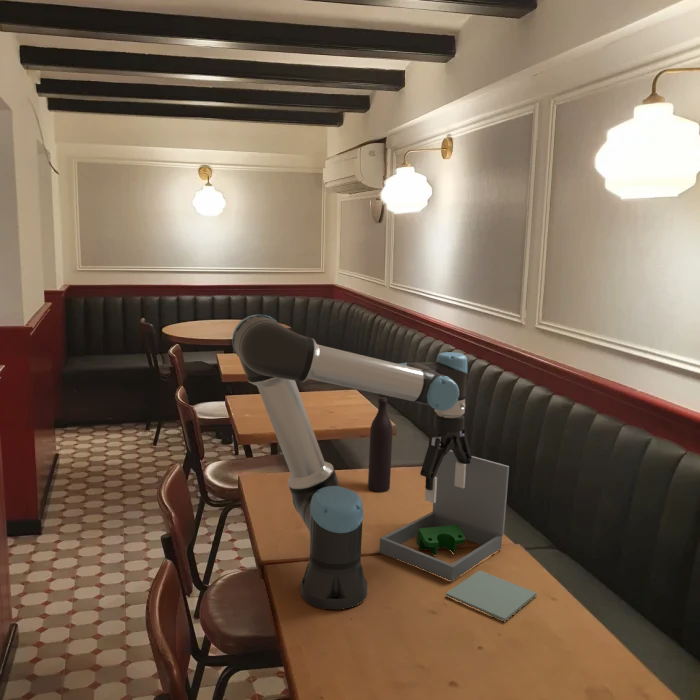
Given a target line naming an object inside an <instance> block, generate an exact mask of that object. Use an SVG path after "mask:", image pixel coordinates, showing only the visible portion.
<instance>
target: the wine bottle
mask: <svg viewBox="0 0 700 700" xmlns="http://www.w3.org/2000/svg"><path fill="white" fill-rule="evenodd" d="M377 403H378V409H377V413H376V415H375V417H374V418H373V420H372V422H371V425H370V432H369V454H368V455H369V456H368V474H367V475H368V477H367V478H368V480H367V488H368V490H370V491H372V492H375V491H376V492H377V493H385V492H388V491H389V490H390V488H391V468H392V452H393V451H392V448H393V425H392V421H391V420H390V417H389V415H388V413H387V412H388V411H387V404H388V398H387V397H385V396H381V397H379V398H378V400H377ZM376 492H375V493H376Z"/></svg>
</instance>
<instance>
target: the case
mask: <svg viewBox="0 0 700 700" xmlns="http://www.w3.org/2000/svg"><path fill="white" fill-rule="evenodd" d="M439 449H440V447H439ZM469 460H470V464H467V463H466V474H465V488H460V487H457V486H454V484H455V466H456V462H459V461H458V460H457V458H456V456H455V454H454V452H453V450H452V449H451V450H450V451H448V453H447V454H446V455H444V457H443V460H442V462H441V464H440V466H439V469H438V471H437V473H436V475H435V477H437V488H436V502H435V503H432V511H431V512H428V513H427V514H425V515H423V516H420V517H419V518H417V519H415V520H413V521H412V522H409V523H407V524H405V525H404V526H401V527H400V528H397V529H395V530H393V531H391V532H390V533H387V534H386V535H383V536H382V537H380V538H379V552H378V553H380V554H381V555H384V556H386V555H387V556H386V557H389V556H391V557H394V558H396V559H399V560H401V561H404V562H406V563H409V564H411V565H414V566H417V567H419V568H421V569H424V570H426V571H428V572H431V573H434V574H436V575H438V576H441V577H443V578H446V579H448V580H451V581H453V580H454V579H456V578H457V577H459V576H460V575H461V574H463V573H464V572H466V571H467V570H469V569H470V568H472V567H473V566H474V565H476V564H478V563H479V562H480V561H482V560H483V559H485V558H486V557H488V556H489V555H491V554H493V553H494V552H496V551H498V550H499V549H501V550H502V547H503V546H502V543H503V537H504V535H505V523H506V513H507V512H506V510H507V499H508V498H507V497H508V487H509V486H508V484H509V473H510V466H509V465H506V464H503V463H500V462H495V461H492V460H488V459H485V458H480V457H477V456H475V455H472V458H471V459H469ZM451 525H458V526H459V528H460V529H461V531H462V532H463V534H464V535H465V540H467V541H470V542H473V543H475V544H478V545H479V547H477V548H475V549H474V550H472V551H471V552H469V553H467V554H466V555H464V556H463V557H461V558H459V559H458V560H456V561H455V562H453V563H449V562H446V561H444V560H441V559H438V558H436V557H434V556H431V555H429V554H426V553H423V552H421V551H419V550H417V549H414V548H411V547H409V546H406V545H404V543H406V542H408V541H410V540H411V539H414V538H415V537H417V535H418V530H419V528H429V527H440V526H451ZM391 557H390V558H391ZM396 559H395V560H396ZM401 561H400V562H401Z"/></svg>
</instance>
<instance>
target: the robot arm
mask: <svg viewBox="0 0 700 700" xmlns="http://www.w3.org/2000/svg"><path fill="white" fill-rule="evenodd" d="M231 340H232V342H231V343H232V345H231V346H232V348H233V351H234V353H235V354H236V355H237V357H238V358H239V361H240V364H241V366H242V369H243V372H244V373H245V376H246V378H247V382H248V383H250V384H252V385H253V386H256V387H257V389H258V392H259V395H260V397H261V400H262V402H263V405H264V407H265V410H266V412H267V416H268V418H269V421H270V423H271V426H272V429H273V431H274V435H275V436H276V439H277V441H278V444H279V447H280V449H281V452H282V454H283V457H284V460H285V462H286V465H287V468H288V470H289V473H290V476H289V477H288V479H287V486H288V488H289V491H290V493H291V498H292V504H293V507H294V509H295V511H296V512H297V513H298V514H299V516H300V518H301V519H302V521H303V523H304V524H305V527H306V528H307V529H308V532H309V559H308V563H307V565H306V568H305V572H304V574H303V577H302V578H301V583H300V595H301V597H302V598H303V600H304V601H305V602H306V603H307V604H309V605H310V604H311V605H310V606H312V605H313V606H312V607H315V608H318V607H319V609H321V608H324V609H323V610H326V609H343V608H349V607H352V606H355V605H357V604H358V603H360V602H362V601H363V600H364V599H365V598H366V599H367V597H366V596H368V582H367V579H366V577H365V575H364V570H363V565H362V562H361V561H362V560H361V559H362V541H363V540H362V538H363V520H364V508H363V500H362V498H361V496H360V495H359V494H358V493H357V492H356V491H354V490H352V489H348V488H347V487H344V486H341V485H340V482H339V478H338V476H337V473H336V471H335V468H334V465H333V464H331V463H330V462H327V461H325V459H324V457H323V454H322V451H321V448H320V445H319V443H318V440H317V437H316V434H315V431H314V429H313V426H312V423H311V421H310V418H309V416H308V412H307V410H306V406H305V405H304V402H303V398H302V396H301V393H300V391H299V388H298V386H297V385H298V384H297V382H300V383H305V382H307V381H308V380H314V381H317V382H322V383H327V384H332V385H336V386H340V387H346V388H351V389H354V390H359V391H365V392H368V393H372V394H373V393H374V394H378V395H383V396H387V397H392V398H397V399H400V400H401V399H402V400H406V401H411V402H414V403H417V404H420V405H421V404H422V405H426V406H430V407H431V408H432V409H434V412H435V414H434V418H433V419H434V421H433V428H434V429H435V430H436V432H437V435H436V436H429V441H428V446H427V450H426V453H425V456H424V460H423V463H422V467H421V469H420V472H419V473H420V476H422V477H425V486H424V488H425V494H424V495H425V496H424V497H425V498H424V499H425V501H427V502H430V503H431V504H433V503H435V502H436V488H437V477H435V475H436V473H437V471H438V469H439V466H440V464H441V462H442V460H443V457H444V455H446V454H447V453H448V451H450V450H452V451H453V452H454V454H455V456H456V458H457V460H458V461H459V462H456V466H455V484H454V486H457V487H460V488H465V474H466V463H467V464H470V460H469V459H471V458H472V456H473V455H472V452H471V447H470V443H469V439H468V434H467V433H468V431H467V430H468V429H467V428H466V427H465V416H464V414H465V411H466V407H467V406H466V396H467V395H466V394H467V380H468V358H467V356H466V355H465V354H463V353H460V352H453V351H450V352H449V351H448V352H447V351H444V352H440V353H438V354H437V358H436V361H432V362H428V361H427V362H401V363H395V362H392V361H387V360H383V359H379V358H375V357H370V356H367V355H362V354H358V353H354V352H351V351H346V350H342V349H338V348H333V347H329V346H325V345H321V344H318V343H317V341H316V340H315V339H314V338H313V337H309V336H305V335H301V334H300V333H299V334H298V333H296V332H295V331H292V330H291V329H289V328H287V327H286V326H284V325H282V324H281V323H279V322H278V320H276V319H275V318H274V317H271V316H270V315H266V314H253V315H249V316H246V317H245V318H243V319H242V320H240V321H239V323H238V324H237V325H236V326H235V328H234V330H233V333H232V339H231ZM439 447H440V449H439ZM366 599H365V600H366ZM365 600H364V601H365ZM364 601H363V602H364ZM363 602H362V603H363ZM357 606H358V605H357ZM355 607H356V606H355ZM349 609H350V608H349Z"/></svg>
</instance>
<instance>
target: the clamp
mask: <svg viewBox="0 0 700 700" xmlns="http://www.w3.org/2000/svg"><path fill="white" fill-rule="evenodd" d="M465 540H466V539H465V535H464V534H463V532H462V531H461V529H460V528H459V526H458V525H451V526H440V527H429V528H419V530H418V535H417V536H416V542H415V543H416V544H417V547H418V548H419V550H420V551H427V550H430V552H431V553H432V555H433V554H434V555H438V552H439V551H438V550H439V549H446V550H448V551H449V550H451V551H452V552H453V553H454V554H455V552H456V548H457V546H458V545H463V544H465ZM451 551H450V552H451ZM434 555H433V556H434Z"/></svg>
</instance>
